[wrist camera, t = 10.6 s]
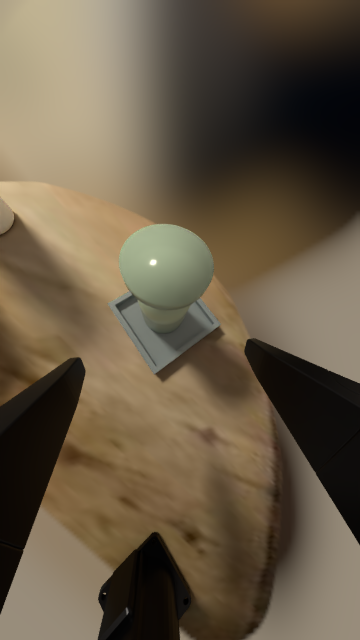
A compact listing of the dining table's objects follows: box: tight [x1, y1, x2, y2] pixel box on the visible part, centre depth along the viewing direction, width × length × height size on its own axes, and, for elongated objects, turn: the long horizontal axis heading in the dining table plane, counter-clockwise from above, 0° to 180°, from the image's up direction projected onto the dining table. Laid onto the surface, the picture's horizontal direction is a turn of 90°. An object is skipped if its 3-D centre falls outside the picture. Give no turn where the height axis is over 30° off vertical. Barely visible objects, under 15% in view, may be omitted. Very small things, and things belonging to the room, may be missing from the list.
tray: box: [108, 291, 221, 374], centre depth 22 cm, size 11×11×2 cm
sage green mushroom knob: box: [119, 224, 214, 334], centre depth 17 cm, size 7×7×12 cm
